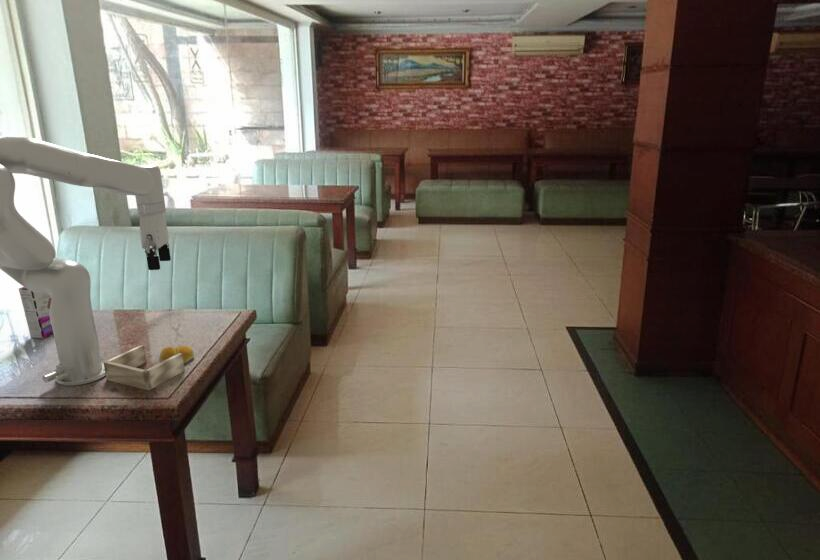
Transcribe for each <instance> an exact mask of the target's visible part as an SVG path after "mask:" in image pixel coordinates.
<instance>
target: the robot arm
mask: <svg viewBox="0 0 820 560" xmlns="http://www.w3.org/2000/svg"><path fill="white" fill-rule="evenodd" d="M13 174H21V175H28V176H29V175H30V176H33V177H38V178H43V179H48V180H51V181H56V182H60V183H64V184H69V185H72V186H78V187H84V188H100V189H104V190H106V191H107V192H108V193H110V194H113V195H119V196H135V203H136V209H137V214H138V216H139V232H140V241H141V242H140V243H141V248H142V249H143V250H144V253H145V257H146V261H147V269H148V270H149V271H159V270H160V269H161V263H160V262H170V261H171V260H172V258H171V252H170V244H169V233H168V232H169V230H168V225H167V221H166V216H165V214H166V213H167V209H166V207H167V206H166V202H165V194H164V187H163V180H162V174H161V168H160V167H159V166H158V165H156V164H139V165H134V164H131V163H128V162H124V161H119V160H115V159H111V158H107V157H103V156H99V155H95V154H91V153H86V152H83V151H82V152H81V151H79V150H75V149H72V148H69V147H68V148H67V147H64V146H61V145H58V144H55V143H51V142H48V141H44V140H41V139H37V138H34V137H28V136H27V137H24V136H17V137H16V136H6V137H5V136H4V137H0V270H1V271H2V272H4V273H5V274H7V276H8V277H10V278H11V279H12V280H14V281H16V282H17V283H18V284H19V285H21V287H25V288H27V289H28V290H30V291H33V292H36V293H41V294H46V295H50V296H51V305H50V311H49V314H50V321H51V325H52V329H53V334H52V335H53V338H54V342H55V346H56V347H55V348H56V351H57V357H58V362H59V363H58V364H56V365H55V368H56V369H54V370H53V372H49V373H46V374H45V375H43V376H42V380H43V382H44V383H50V382H52V381H55V382H56V383H58V384H59V385H61V386H81V385H85V384H90V383H93V382H96V381H98V380H100V379H103V378H104V377H106V374H105V368H104V363H103V362H104V361H103V360H102V354H101V349H100V344H99V339H98V334H97V329H96V324H95V319H94V317H95V316H94V313H93V306H92V299H91V282H92V281H91V274H90V272H89V271H88V269H87V268H86V267H85V266H84V265H83V264H81V263H79V262H77V261H74V260H71V259H65V258H59V257H58V258H56V250H55V247H54V245H53V244H52V242H51V241H50V240H49V239H48V238H47V237H46V236H45V235H43V234H42V233H41V232H40V231H39V230H38V229H37V228H35V227H34V226H33V225H32V224H30V222H28V221H27V220H26V219H25V218H24V217H23V216H22V215H21V214H20V213H19V212H18V210H17V208H16V206H15V191H16V181H15V177H14V175H13Z"/></svg>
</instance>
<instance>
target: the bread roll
mask: <svg viewBox="0 0 820 560" xmlns="http://www.w3.org/2000/svg"><path fill="white" fill-rule="evenodd" d="M178 353H182V356H183V363H184V364H186V363H188V362H190V361H191V360H192V359H194V356H195V351H194V350H193V348H192V347H191V346H188V345H179V346H177V347H174V346H166V347H164V348H162V349H161V352H160V353H159V357H158V358H159V363H161V362H163V361H165V360H167V359H169V358H171V357H173V356H174V355H176V354H178Z"/></svg>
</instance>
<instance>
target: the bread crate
mask: <svg viewBox="0 0 820 560" xmlns="http://www.w3.org/2000/svg"><path fill="white" fill-rule="evenodd" d="M102 362H103V363H104V368H105V374H106V375H105V378H106V381H110V382H113V383H117V384H121V385H126V386H130V387H134V388H137V389H140V390H141V389H142V390H146V391H150V390H152V389H154V388H156V387H158V386H160V385H162V384H163V383H165V382H167V381H168V380H171V379H172V378H174V377H175V376H178V375H181V374H182V373H183V372H185V370H186V369H185V363H183V356H182V353H178V354H176V355H174V356H173V357H171V358H169V359H167V360H165V361H163V362H161V363H160V362H159V363H157V364H155V365H153V366H151V367H149V368H148V369H143V368H138V367H139V366H142V365H143V364H146V363H147V356H146V350H145V345H143V344H140V345H138V346H136V347H134V348H131V349H130V350H129V349H128V350H127V351H124V352H123V353H121V354H119V355H116V356H114V357H112V358H110V359H108V360H105V361H102Z"/></svg>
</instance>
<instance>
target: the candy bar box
mask: <svg viewBox="0 0 820 560" xmlns="http://www.w3.org/2000/svg"><path fill="white" fill-rule="evenodd" d="M18 292H19V295H20V299H21V304H22V308H23V312H24V315H25V319H26V324H27V327H28V332H29V336H30V338H31V339H46V338H47V337H50V336H51V335H54V334H53V329H52V325H51V321H50V314H49V311H50V305H51V296H50V295H46V294H41V293H36V292H33V291H30V290H28V289H27V288H25V287H24V286H21V287H20V288H18Z"/></svg>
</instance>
